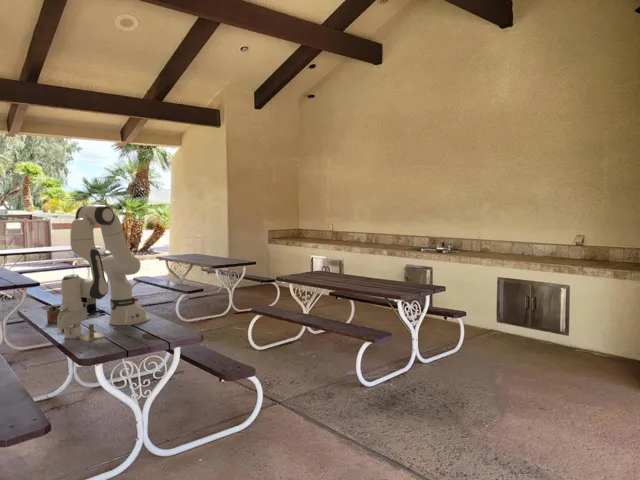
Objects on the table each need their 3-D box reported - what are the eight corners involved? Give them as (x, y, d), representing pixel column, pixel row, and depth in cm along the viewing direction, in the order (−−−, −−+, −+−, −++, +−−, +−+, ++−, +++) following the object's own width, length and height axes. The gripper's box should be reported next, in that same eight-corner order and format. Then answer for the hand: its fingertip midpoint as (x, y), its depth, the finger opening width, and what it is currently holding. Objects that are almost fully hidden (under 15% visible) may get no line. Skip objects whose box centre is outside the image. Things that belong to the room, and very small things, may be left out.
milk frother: (83, 311, 303) (82, 288, 302) (109, 310, 306) (109, 287, 304) (76, 316, 289) (75, 292, 288) (103, 315, 292) (103, 291, 291)
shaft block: (97, 334, 248) (96, 321, 248) (106, 337, 242) (105, 324, 241) (77, 338, 241) (76, 324, 240) (85, 341, 234) (85, 327, 234)
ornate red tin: (47, 324, 270) (46, 307, 269) (46, 323, 273) (46, 306, 272) (63, 322, 275) (62, 305, 274) (62, 321, 277) (61, 304, 277)
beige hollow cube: (71, 335, 247) (70, 324, 246) (81, 335, 246) (81, 324, 246) (64, 337, 241) (64, 327, 241) (74, 338, 241) (74, 327, 240)
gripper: (64, 311, 232) (66, 338, 233) (89, 302, 252) (89, 328, 253) (52, 310, 233) (53, 338, 234) (77, 302, 253) (78, 328, 254)
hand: (72, 333), depth 244 cm, fingers closed on beige hollow cube, 6 cm apart
